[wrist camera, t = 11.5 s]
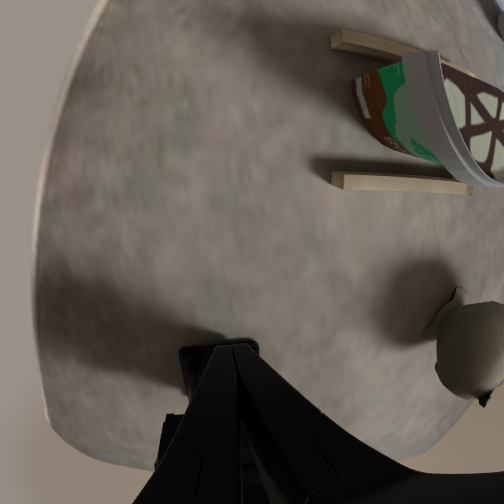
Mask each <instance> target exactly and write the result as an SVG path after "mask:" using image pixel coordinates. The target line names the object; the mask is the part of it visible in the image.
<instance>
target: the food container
mask: <svg viewBox="0 0 504 504" xmlns="http://www.w3.org/2000/svg"><path fill="white" fill-rule="evenodd" d="M352 92H353V97H354V100H355V103H356V106H357V109H358V113H359V115H360V117H361V119H362V120H363V122H364V123H365V125H366V127H367V128H368V130H369V132H370V133H371V134H372V135H373V136H374V137H375V138H376V139H378V140H379V141H380V142H381V143H382V144H383V145H385V146H387V147H388V148H390V149H392V150H395V151H398V152H402V153H405V154H409V155H412V156H416V157H419V158H423V159H426V160H429V161H432V162H435V163H438V164H441V165H443V166H444V167H445V168H446V170H447V171H448V172H449V173H451V174H452V175H453V176H454V177H455V178H456V179H457V180H459V181H461V182H463V183H464V184H466V185H469V186H473V187H494V188H501V187H504V93H503V92H502V91H501V90H499V89H498V88H496V87H494V86H492V85H490V84H487V83H485V82H483V81H481V80H479V79H476V78H474V77H472V76H470V75H468V74H465V73H463V72H461V71H459V70H457V69H455V68H453V67H450V66H448V65H446V64H444V63H441V62H440V55H439V51H438V50H437V51H431V52H426V51H418V52H410V53H403V54H402V61H400V62H397V63H394V64H391V65H388V66H386V67H383V68H380V69H378V70H375V71H372V72H370V73H367V74H365V75H362V76H360V77H357V78H355V79H352Z"/></svg>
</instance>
